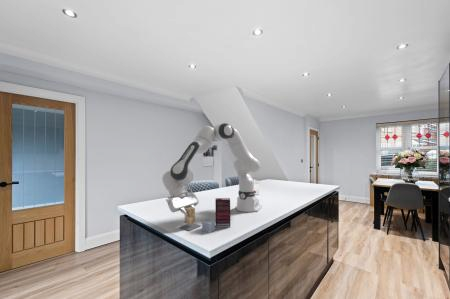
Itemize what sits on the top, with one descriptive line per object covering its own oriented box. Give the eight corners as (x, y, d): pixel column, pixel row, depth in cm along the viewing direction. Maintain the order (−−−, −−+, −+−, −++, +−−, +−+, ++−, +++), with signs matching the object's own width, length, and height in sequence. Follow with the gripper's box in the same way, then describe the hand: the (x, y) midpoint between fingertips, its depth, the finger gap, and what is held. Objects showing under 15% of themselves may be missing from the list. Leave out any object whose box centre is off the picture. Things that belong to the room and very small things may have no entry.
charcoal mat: (190, 223, 122) (190, 222, 122) (200, 226, 118) (200, 225, 118) (179, 228, 115) (179, 227, 115) (189, 231, 110) (189, 230, 110)
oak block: (189, 220, 119) (189, 207, 119) (194, 222, 117) (194, 208, 117) (184, 222, 116) (184, 208, 116) (189, 224, 114) (190, 209, 114)
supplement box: (230, 224, 121) (230, 197, 121) (230, 227, 116) (230, 199, 116) (215, 224, 120) (215, 197, 121) (215, 227, 116) (215, 199, 116)
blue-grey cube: (207, 228, 115) (208, 219, 115) (215, 230, 112) (215, 221, 112) (202, 231, 111) (202, 221, 111) (209, 233, 108) (209, 223, 108)
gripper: (167, 194, 112) (179, 215, 106) (193, 189, 129) (205, 206, 123) (162, 201, 115) (173, 222, 109) (188, 195, 131) (199, 213, 126)
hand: (190, 213), depth 116 cm, fingers closed on oak block, 4 cm apart
